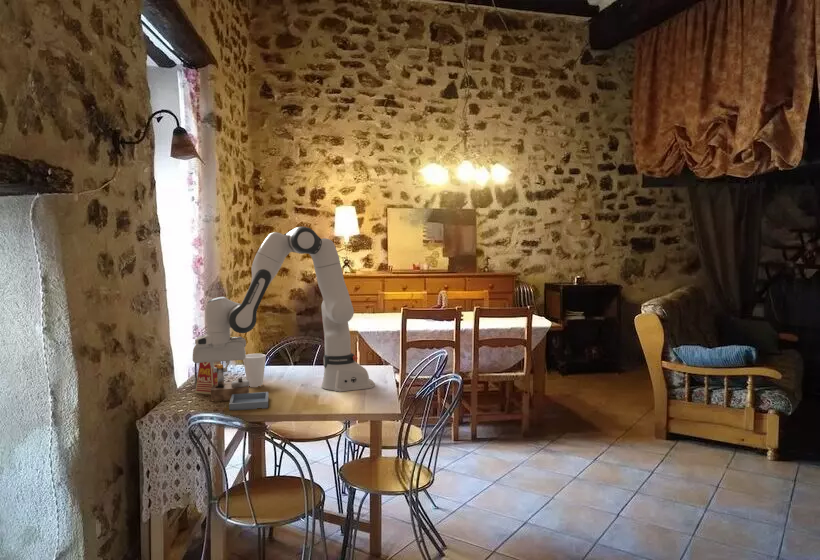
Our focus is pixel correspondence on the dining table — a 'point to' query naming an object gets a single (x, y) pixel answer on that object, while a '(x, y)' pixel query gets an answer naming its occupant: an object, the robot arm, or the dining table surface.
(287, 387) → the dining table surface
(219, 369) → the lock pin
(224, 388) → the tensioner block
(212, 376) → the milk carton
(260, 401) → the dish
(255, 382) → the foam cup
